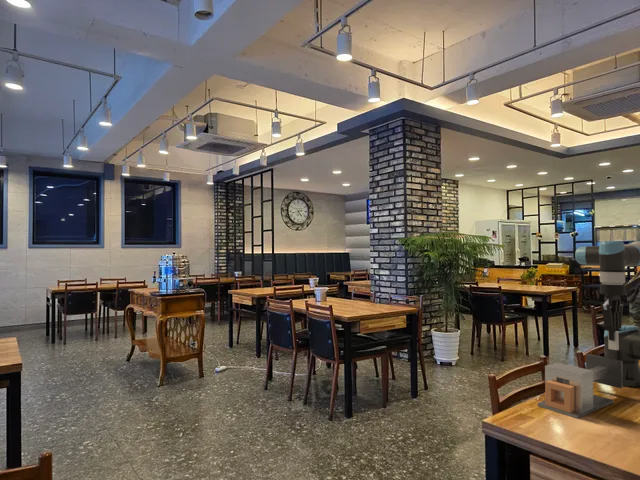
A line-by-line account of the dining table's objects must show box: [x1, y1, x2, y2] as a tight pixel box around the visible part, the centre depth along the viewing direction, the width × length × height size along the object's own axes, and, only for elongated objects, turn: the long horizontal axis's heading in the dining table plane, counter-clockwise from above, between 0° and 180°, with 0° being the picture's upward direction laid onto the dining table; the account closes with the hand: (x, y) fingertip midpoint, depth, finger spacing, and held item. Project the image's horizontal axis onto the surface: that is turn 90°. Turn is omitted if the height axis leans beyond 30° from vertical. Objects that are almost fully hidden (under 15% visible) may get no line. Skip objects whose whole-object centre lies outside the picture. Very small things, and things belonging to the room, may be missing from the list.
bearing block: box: [537, 362, 614, 419], centre depth 149 cm, size 26×13×13 cm, turn 124°
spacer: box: [544, 380, 574, 413], centre depth 143 cm, size 3×8×8 cm, turn 35°
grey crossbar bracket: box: [564, 353, 624, 389], centre depth 154 cm, size 27×12×10 cm, turn 124°
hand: (613, 349), depth 152 cm, fingers closed
